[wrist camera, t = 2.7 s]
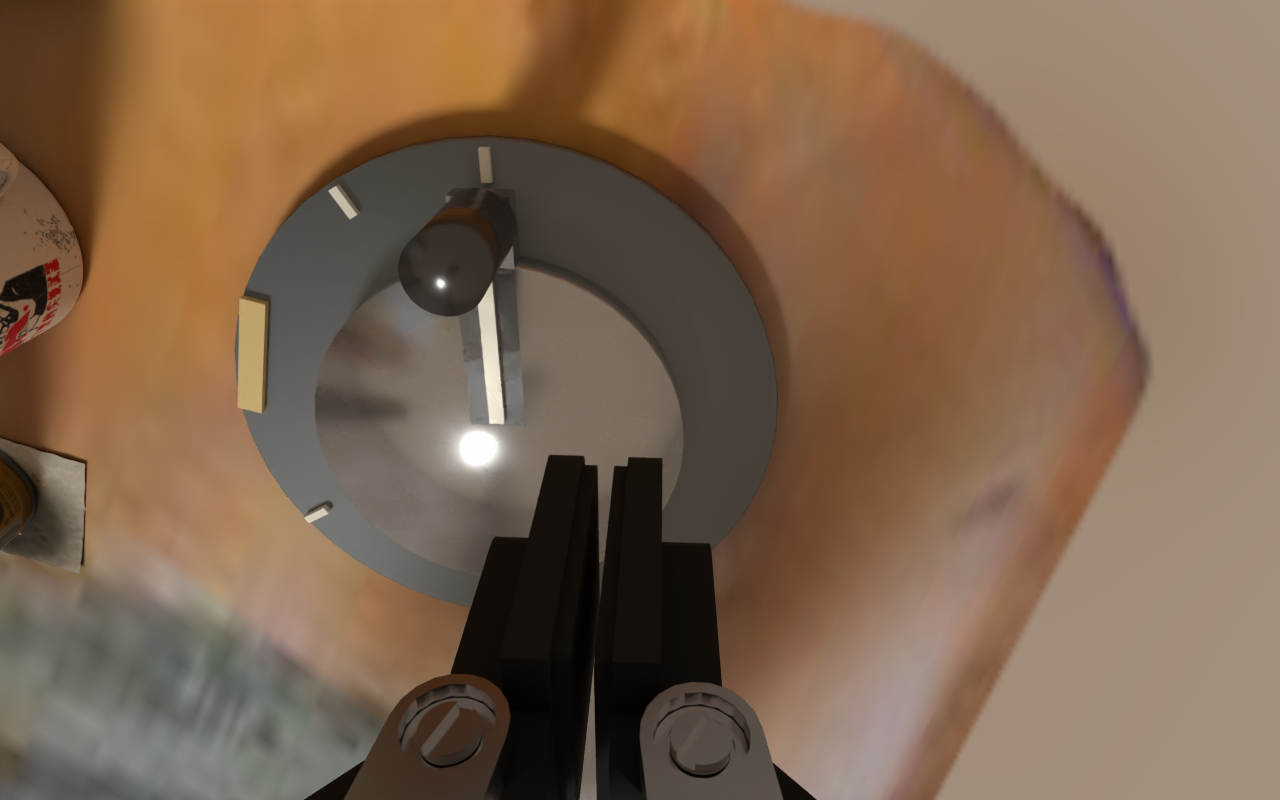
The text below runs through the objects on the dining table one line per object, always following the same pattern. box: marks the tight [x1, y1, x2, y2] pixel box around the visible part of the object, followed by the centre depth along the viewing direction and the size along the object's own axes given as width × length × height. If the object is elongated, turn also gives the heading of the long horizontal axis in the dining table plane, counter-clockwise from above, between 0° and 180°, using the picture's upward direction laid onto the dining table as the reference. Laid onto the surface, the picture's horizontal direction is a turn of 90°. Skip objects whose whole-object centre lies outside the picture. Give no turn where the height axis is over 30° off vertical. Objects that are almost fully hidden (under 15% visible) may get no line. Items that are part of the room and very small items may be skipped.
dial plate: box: [235, 136, 778, 607], centre depth 32 cm, size 23×23×1 cm
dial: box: [315, 188, 683, 576], centre depth 28 cm, size 18×15×6 cm
